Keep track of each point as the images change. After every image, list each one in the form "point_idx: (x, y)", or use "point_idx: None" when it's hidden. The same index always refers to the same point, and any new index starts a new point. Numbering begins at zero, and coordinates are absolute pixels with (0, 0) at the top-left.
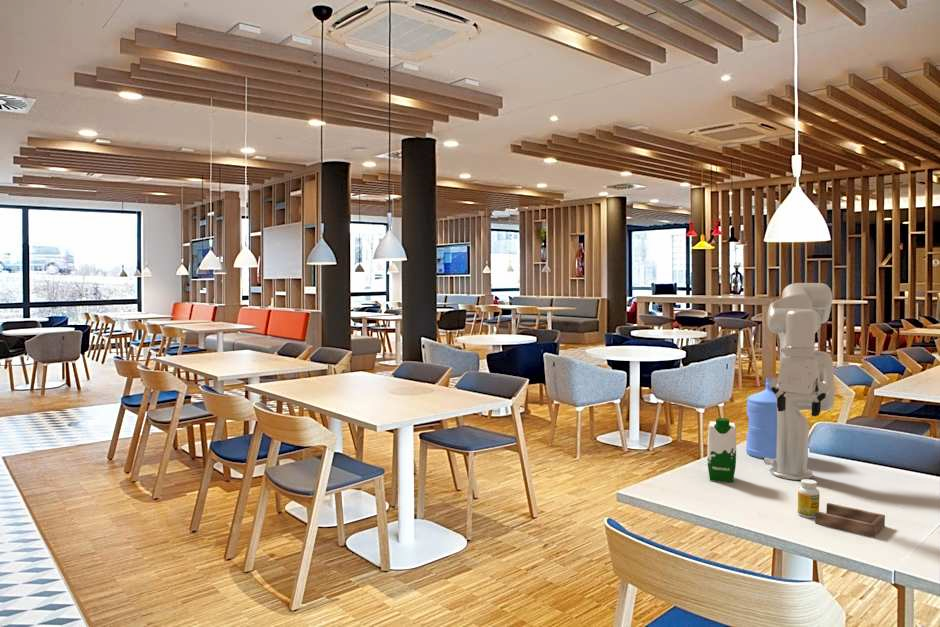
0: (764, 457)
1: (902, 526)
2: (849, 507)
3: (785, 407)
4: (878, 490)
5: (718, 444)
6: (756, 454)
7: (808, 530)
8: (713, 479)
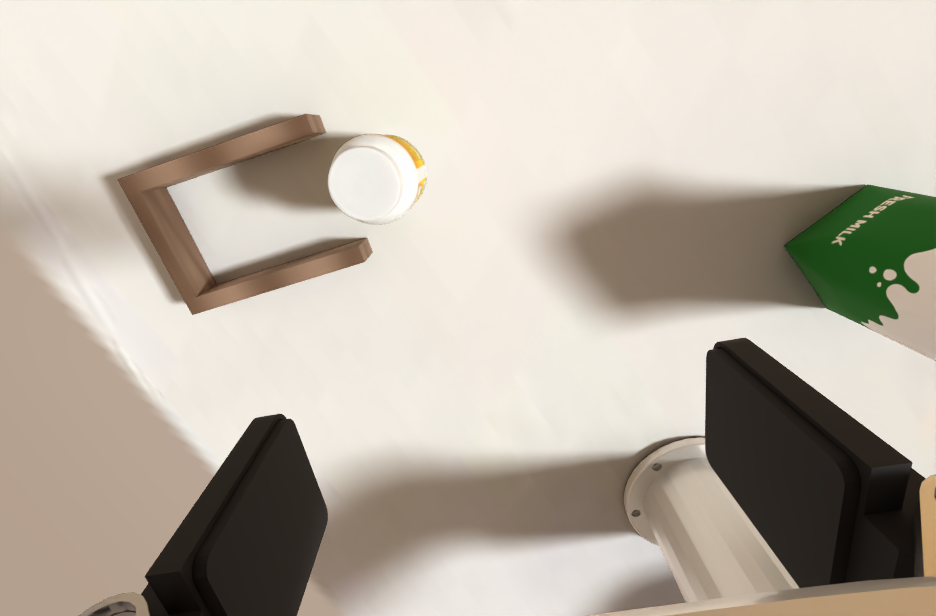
0: None
1: (194, 346)
2: (295, 282)
3: (722, 482)
4: (444, 559)
5: None
6: None
7: (274, 17)
8: (859, 194)
